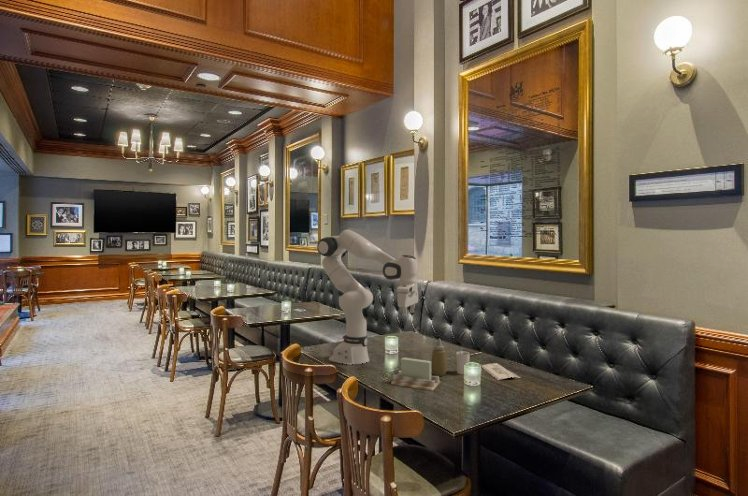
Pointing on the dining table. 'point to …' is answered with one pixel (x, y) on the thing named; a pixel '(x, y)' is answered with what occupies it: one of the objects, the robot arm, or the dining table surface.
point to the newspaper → (499, 371)
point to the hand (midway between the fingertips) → (408, 314)
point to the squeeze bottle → (439, 360)
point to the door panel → (416, 368)
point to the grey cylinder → (462, 361)
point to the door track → (416, 382)
